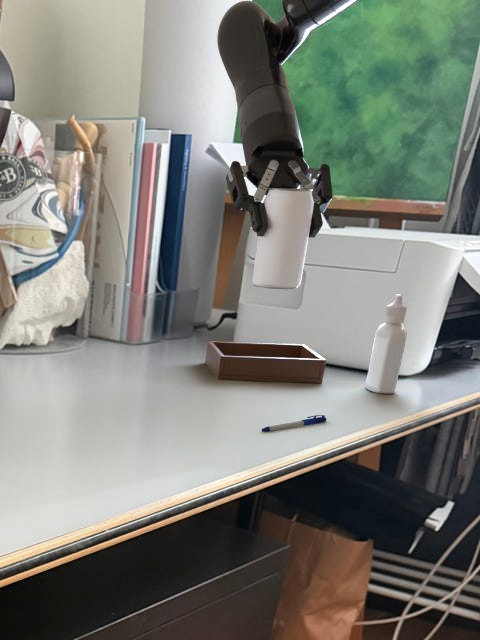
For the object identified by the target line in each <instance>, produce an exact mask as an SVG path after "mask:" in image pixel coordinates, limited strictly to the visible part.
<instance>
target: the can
mask: <svg viewBox="0 0 480 640" xmlns="http://www.w3.org/2000/svg"><path fill="white" fill-rule="evenodd" d="M268 189H269V192H268V194H267V196H266V195H265V197H264V198H263V201H262V203H264V204H265V209H266V214H267V220H268V228H267V230H266V232H265V234H264V236H263V237H262V236H257V242H256V250H255V257H254V265H253V272H252V279H251V281H252V284H253V287H257V288H261V289H262V288H263V289H272V290H273V289H274V290H295V289H298V288H299V287H300V286H301V284H302V279H303V273H304V269H305V262H306V256H307V250H308V243H309V239H310V238H309V232H310V226H311V219H312V213H313V206H314V201H313V197H312V191H313V190H314V188H312V189H300V188H299V189H297V188H289V189H288V188H268Z"/></svg>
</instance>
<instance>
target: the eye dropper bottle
mask: <svg viewBox="0 0 480 640" xmlns="http://www.w3.org/2000/svg"><path fill="white" fill-rule="evenodd" d="M407 309H408V306H407V305H404V304H403V294H399V293H398V294H395V297H394V300H393V302H392V303H390V304H388V305H387V306H386V309H385V313H384V319H383V322H384V323H382V324H380V325H379V326H378V327H377V329H376V331H375V336H374V341H373V345H372V350H371V355H370V361H369V365H368V370H367V375H366V380H365V388H366V389H367V390H368V391H370V392H373V393H375V394H394V393H395V392H396V390H397V389H396V388H397V385H398V380H399V375H400V371H401V370H400V369H401V365H402V360H403V356H404V351H405V347H406V342H407V337H408V336H407V333H408V332H407V330H406V327H405V326H404V323H405V318H406V315H407Z"/></svg>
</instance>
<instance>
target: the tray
mask: <svg viewBox="0 0 480 640" xmlns="http://www.w3.org/2000/svg"><path fill="white" fill-rule="evenodd" d="M204 363H205V364H206V366H207V365H208V366H209V367H208V366H207V367H208V369H209V370H210V369H211V370H212V371H211V370H210V371H211V372H212V374H213V375H214V374H215V375H214V376H215V378H216V379H217V378H218V379H217V380H221V379H231V380H230V381H248V380H250V382H275V381H276V382H277V383H302V382H303V384H305V383H306V384H323V382H324V381H323V380H324V374H325V369H326V365H327V359H325V358H324V357H322V355H320V354H318V352H316V351H314V350H313V349H311V348H310V347H308V346H307V345H306V344H299V343H298V344H297V343H270V342H269V343H267V342H242V341H241V342H240V341H239V342H238V341H214V340H212V341H211V340H208V341H207V344H206V352H205V359H204Z"/></svg>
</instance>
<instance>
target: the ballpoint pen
mask: <svg viewBox="0 0 480 640" xmlns="http://www.w3.org/2000/svg"><path fill="white" fill-rule="evenodd" d="M325 422H327V417H326V415H323V414H315V415H310V416H307V417H306V419H305V418H304V419H300V420H298V421H291V422H286V423H279V424H275V425H269V426H265V427H263V428H261V432H262V433H269V432H274V431H281V430H286V429H291V428H297V427H303V426H304V427H305V426H309V425H310V426H311V425H315V424H322V423H325Z"/></svg>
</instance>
